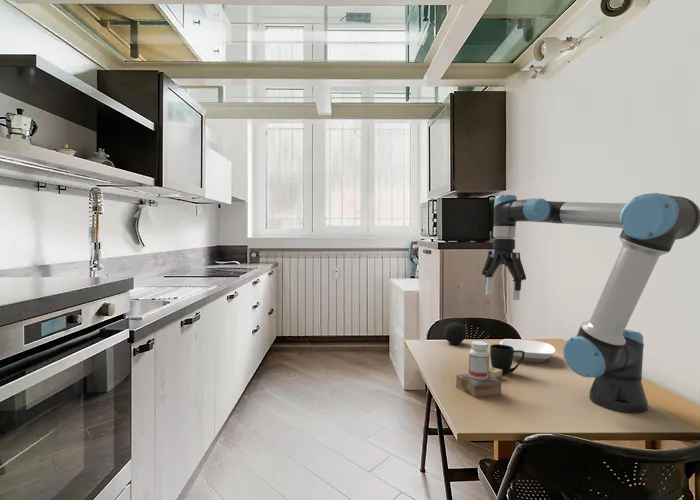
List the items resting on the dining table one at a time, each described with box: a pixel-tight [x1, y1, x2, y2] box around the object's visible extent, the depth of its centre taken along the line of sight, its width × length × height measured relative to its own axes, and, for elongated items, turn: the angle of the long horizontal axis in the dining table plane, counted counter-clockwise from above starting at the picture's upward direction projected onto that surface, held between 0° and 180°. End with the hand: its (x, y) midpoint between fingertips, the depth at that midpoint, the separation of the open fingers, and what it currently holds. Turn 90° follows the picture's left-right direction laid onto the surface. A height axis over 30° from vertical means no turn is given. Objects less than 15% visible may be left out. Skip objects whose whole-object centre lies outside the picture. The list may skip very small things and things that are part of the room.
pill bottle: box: [468, 340, 490, 380], centre depth 138 cm, size 6×6×11 cm
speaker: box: [443, 321, 467, 345], centre depth 200 cm, size 10×10×10 cm
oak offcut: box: [488, 366, 503, 380], centre depth 151 cm, size 5×5×3 cm
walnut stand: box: [455, 372, 502, 398], centre depth 138 cm, size 10×10×4 cm
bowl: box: [499, 338, 557, 364], centre depth 179 cm, size 22×22×5 cm
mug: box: [489, 343, 525, 376], centre depth 157 cm, size 8×12×10 cm
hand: (501, 297), depth 153 cm, fingers open, 13 cm apart
